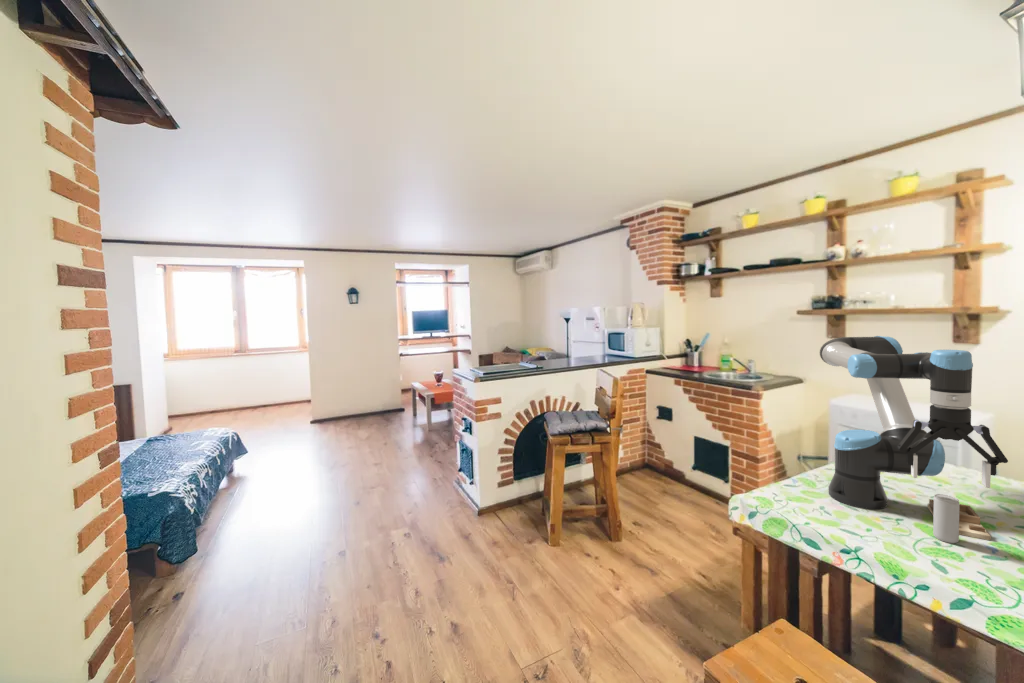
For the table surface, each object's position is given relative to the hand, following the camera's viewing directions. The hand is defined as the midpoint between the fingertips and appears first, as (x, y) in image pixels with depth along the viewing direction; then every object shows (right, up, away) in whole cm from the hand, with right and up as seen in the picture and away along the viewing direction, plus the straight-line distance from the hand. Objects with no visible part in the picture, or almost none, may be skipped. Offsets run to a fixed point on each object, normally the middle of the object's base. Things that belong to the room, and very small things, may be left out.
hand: (948, 481), depth 107 cm
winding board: (+12, -16, +8) cm, 21 cm away
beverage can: (0, -17, +1) cm, 17 cm away
